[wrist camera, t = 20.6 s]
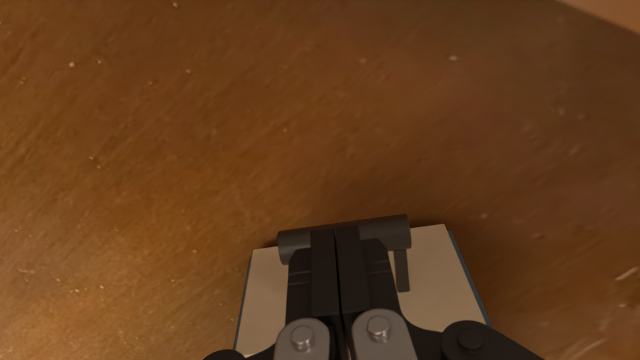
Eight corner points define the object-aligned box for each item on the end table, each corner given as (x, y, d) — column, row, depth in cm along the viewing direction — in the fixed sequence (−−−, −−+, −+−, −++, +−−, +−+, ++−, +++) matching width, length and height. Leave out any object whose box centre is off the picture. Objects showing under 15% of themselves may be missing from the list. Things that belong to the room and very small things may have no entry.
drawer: (235, 188, 26) (207, 286, 19) (442, 158, 25) (489, 249, 18) (294, 391, 35) (290, 507, 28) (449, 374, 34) (483, 489, 27)
